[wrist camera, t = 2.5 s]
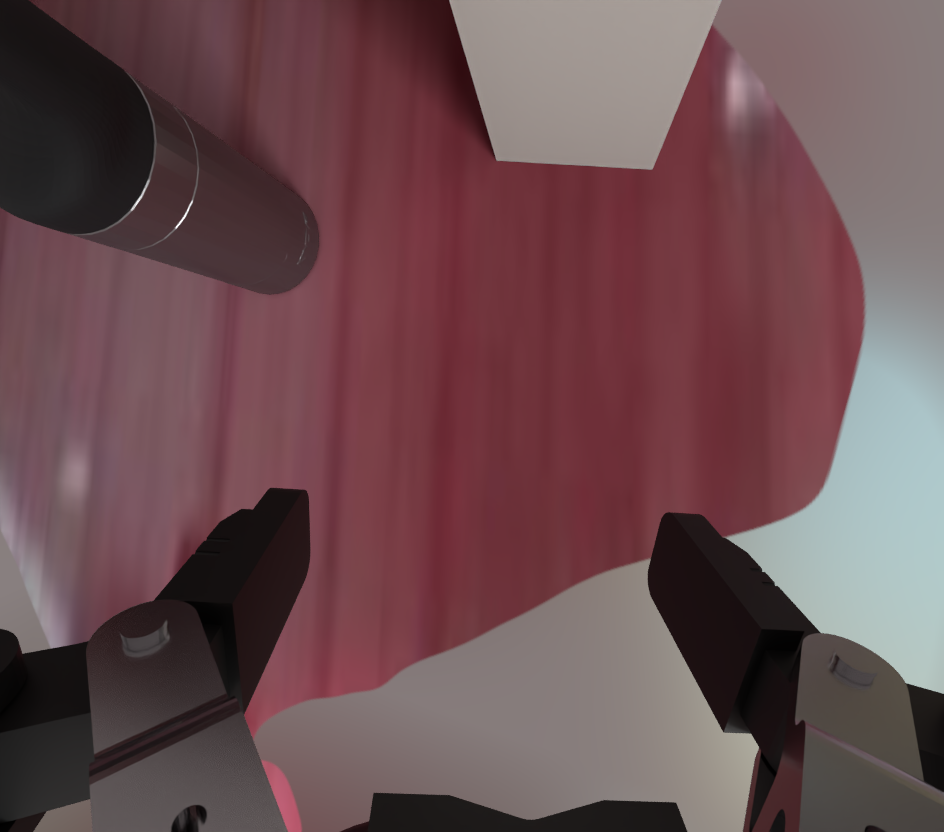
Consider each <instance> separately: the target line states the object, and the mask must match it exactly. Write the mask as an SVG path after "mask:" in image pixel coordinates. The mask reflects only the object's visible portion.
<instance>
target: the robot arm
mask: <svg viewBox="0 0 944 832" xmlns="http://www.w3.org/2000/svg"><path fill="white" fill-rule="evenodd" d="M0 207H1V208H2V209H4V210H5V211H7V212H9V213H11V214H12V215H14V216H16V217H19V218H21V219H24V220H26V221H29V222H32V223H35V224H37V225H41V226H44V227H47V228H51V229H54V230H57V231H60V232H64V233H67V234H70V235H73V236H77V237H80V238H83V239H86V240H90V241H93V242H96V243H99V244H103V245H106V246H109V247H113V248H116V249H120V250H123V251H126V252H129V253H132V254H136V255H139V256H142V257H145V258H149V259H152V260H155V261H158V262H161V263H165V264H168V265H171V266H174V267H178V268H181V269H184V270H187V271H190V272H194V273H197V274H200V275H203V276H207V277H210V278H213V279H216V280H219V281H223V282H225V283H228V284H232V285H235V286H238V287H241V288H245V289H248V290H251V291H254V292H257V293H262V294H269V295H270V294H279V293H282V292H285V291H288V290H290V289H292V288H293V287H295V286H297V285H298V284H299V283H300V282H301V281H302V280H303V279H304V278H305V277H306V276H307V275H308V273H309V272H310V270H311V269H312V267H313V264H314V262H315V260H316V257H317V252H318V247H319V232H318V227H317V222H316V220H315V217H314V215H313V213H312V211H311V210H310V208H309V207H308V205H307V204H306V203H305V202H304V201H303V200H302V199H301V198H300V197H299V196H298V195H296V194H295V193H294V192H292V191H291V190H289V189H288V188H287V187H285V186H284V185H283V184H281V183H280V182H278V181H277V180H276V179H274V178H273V177H272V176H270V175H269V174H268V173H266V172H265V171H263V170H262V169H261V168H259V167H258V166H257V165H255V164H254V163H252V162H251V161H250V160H248V159H247V158H245V157H244V156H243V155H241V154H240V153H239V152H237V151H236V150H234V149H233V148H232V147H230V146H229V145H227V144H226V143H225V142H223V141H222V140H220V139H219V138H218V137H216V136H215V135H214V134H212V133H211V132H209V131H208V130H207V129H205V128H204V127H202V126H201V125H200V124H198V123H197V122H196V121H194V120H193V119H191V118H190V117H189V116H187V115H186V114H184V113H183V112H182V111H180V110H179V109H177V108H176V107H175V106H173V105H172V104H171V103H169V102H168V101H166V100H165V99H163V98H162V97H160V96H159V95H158V94H156V93H155V92H153V91H152V90H151V89H149V88H148V87H147V86H145V85H144V84H142V83H141V82H140V81H138V80H137V79H135V78H134V77H133V76H131V75H130V74H129V73H127V72H126V71H124V70H123V69H122V68H120V67H119V66H118V65H116V64H115V63H114V62H112V61H111V60H109V59H108V58H106V57H105V56H104V55H102V54H101V53H99V52H98V51H97V50H95V49H94V48H92V47H91V46H90V45H88V44H87V43H85V42H84V41H83V40H81V39H80V38H79V37H77V36H76V35H75V34H73V33H72V32H70V31H69V30H68V29H66V28H65V27H64V26H62V25H61V24H60V23H58V22H57V21H56V20H54V19H53V18H51V17H50V16H49V15H47V14H46V13H45V12H43V11H42V10H41V9H39V8H38V7H37V6H35V5H34V4H32V3H31V2H30V1H28V0H0ZM309 562H310V522H309V498H308V493H307V491H306V490H299V489H283V488H270V489H268V490H267V492H266V493H265V494H264V496H263V497H262V498H261V500H260V501H259V502H258V504H257V505H256V506H255V508H254V509H253V510H251V509H241V510H239V511H237V512H236V513H234V514H232V515H231V516H229V517H227V518H226V519H224V520H222V521H221V522H220V523H219V524H218V525H217V526H216V527H215V529H214V530H213V531H212V532H211V533H210V534H209V536H208V537H207V540H206V541H204V542H203V543H202V544H201V545H200V546H199V547H198V549H197V550H196V553H195V554H193V555H192V556H191V557H190V558H189V559H188V561H187V562H186V563H185V564H184V565H183V566H182V568H181V569H180V570H179V571H178V572H177V574H176V575H175V576H174V577H173V578H172V579H171V581H170V582H169V583H168V584H167V585H166V587H165V588H164V589H163V590H162V591H161V593H160V594H159V595H158V596H157V597H156V598H155V600H154V601H150V602H146V603H142V604H139V605H136V606H134V607H131V608H129V609H126V610H124V611H122V612H120V613H118V614H117V615H115V616H113V617H112V618H110V619H109V620H108V621H106V622H105V623H104V624H103V625H101V626H100V627H99V628H98V629H97V630H96V632H95V633H94V634H93V635H92V637H91V638H90V640H89V641H87V642H83V643H79V644H74V645H69V646H63V647H58V648H52V649H47V650H41V651H36V652H31V653H25V654H22V651H21V648H20V645H19V641H18V639H17V637H16V636H15V635H14V634H13V633H11V632H9V631H7V630H3V629H0V832H33V831H34V830H35V828H36V826H37V825H38V823H39V822H40V820H41V819H42V817H43V816H44V814H45V813H46V811H48V810H52V809H55V808H60V807H63V806H66V805H70V804H74V803H77V802H81V801H84V800H88V799H90V800H91V816H92V831H93V832H288V831H287V828H286V826H285V823H284V820H283V818H282V815H281V812H280V810H279V807H278V805H277V802H276V799H275V797H274V794H273V791H272V789H271V786H270V783H269V781H268V778H267V775H266V773H265V770H264V767H263V765H262V762H261V759H260V757H259V755H258V752H257V749H256V746H255V744H254V741H253V738H252V736H251V733H250V730H249V728H248V725H247V722H246V720H245V717H244V714H245V711H246V709H247V707H248V705H249V703H250V700H251V698H252V696H253V694H254V692H255V689H256V687H257V685H258V683H259V680H260V678H261V676H262V674H263V672H264V669H265V667H266V665H267V663H268V661H269V658H270V656H271V654H272V652H273V650H274V647H275V645H276V643H277V641H278V638H279V636H280V634H281V632H282V630H283V627H284V625H285V623H286V621H287V619H288V616H289V614H290V612H291V610H292V608H293V605H294V603H295V601H296V599H297V596H298V594H299V592H300V590H301V588H302V585H303V583H304V581H305V578H306V575H307V572H308V568H309ZM648 587H649V591H650V595H651V597H652V599H653V601H654V603H655V605H656V607H657V609H658V611H659V613H660V614H661V616H662V618H663V620H664V622H665V624H666V626H667V628H668V629H669V631H670V633H671V635H672V636H673V639H674V641H675V642H676V644H677V646H678V648H679V650H680V652H681V654H682V656H683V657H684V659H685V661H686V663H687V665H688V667H689V669H690V671H691V672H692V674H693V676H694V678H695V680H696V682H697V684H698V686H699V687H700V689H701V691H702V693H703V695H704V697H705V699H706V700H707V702H708V704H709V706H710V708H711V710H712V712H713V714H714V715H715V717H716V719H717V721H718V723H719V725H720V727H721V729H722V730H723V732H725V733H751V734H752V736H753V737H754V739H755V741H756V743H757V744H758V746H759V750H758V752H757V754H756V757H755V761H754V767H753V773H752V779H751V785H750V792H749V798H748V803H747V809H746V815H745V821H744V827H743V832H944V694H942V693H938V692H935V691H931V690H928V689H924V688H921V687H917V686H914V685H910V684H906V683H905V681H904V680H903V678H902V677H901V676H900V674H899V673H898V672H897V671H896V670H895V669H894V668H893V667H892V666H891V665H890V664H889V663H887V662H886V661H885V660H884V659H882V658H881V657H880V656H878V655H877V654H875V653H874V652H872V651H871V650H869V649H867V648H865V647H864V646H862V645H860V644H858V643H855V642H853V641H851V640H848V639H845V638H843V637H839V636H836V635H831V634H824V633H820V632H819V631H818V629H817V628H816V627H815V626H814V625H813V624H812V623H811V622H810V621H809V620H808V619H807V618H806V616H805V615H804V614H803V613H802V612H801V611H800V610H799V609H798V608H797V607H796V605H795V604H794V603H793V602H792V601H791V600H790V599H789V598H788V597H787V596H786V595H785V594H784V592H783V591H782V590H781V589H780V588H779V587H778V586H775V584H774V581H773V580H772V579H771V578H770V577H769V576H768V575H767V574H766V573H765V572H762V568H761V567H760V566H759V565H758V564H757V563H756V562H755V561H754V560H753V558H751V556H750V555H749V554H748V553H747V552H746V551H744V550H743V549H741V548H740V547H738V546H737V545H735V544H734V543H732V542H731V541H729V540H728V539H726V538H722V537H721V535H720V534H719V533H718V532H717V531H716V530H715V529H714V527H713V526H712V525H711V524H710V523H709V522H708V521H707V519H706V518H705V517H704V516H702V515H700V514H686V513H670V512H668V513H665V514H664V515H663V517H662V519H661V522H660V525H659V529H658V533H657V537H656V541H655V545H654V549H653V553H652V557H651V561H650V565H649V569H648ZM341 832H687V830H686V827H685V824H684V822H683V819H682V817H681V814H680V811H679V809H678V806H677V804H676V803H672V802H641V801H609V800H604V801H600V802H596V803H592V804H590V805H586V806H582V807H579V808H575V809H571V810H568V811H565V812H561V813H558V814H554V815H550V816H547V817H544V818H540V819H536V820H526V819H522V818H518V817H515V816H512V815H509V814H506V813H503V812H500V811H497V810H494V809H491V808H488V807H484V806H481V805H478V804H475V803H472V802H469V801H466V800H463V799H459V798H456V797H453V796H450V795H423V794H393V793H391V794H390V793H374V794H373V801H372V807H371V814H370V820H369V822H366V823H362V824H359V825H356V826H353V827H350V828H348V829H345V830H343V831H341Z"/></svg>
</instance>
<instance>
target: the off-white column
mask: <svg viewBox="0 0 944 832" xmlns="http://www.w3.org/2000/svg"><path fill="white" fill-rule="evenodd" d="M449 1H450V5H451V8H452V12H453V15H454V18H455V22H456V25H457V29H458V32H459V35H460V39H461V42H462V46H463V49H464V52H465V56H466V59H467V62H468V66H469V69H470V73H471V76H472V79H473V83H474V86H475V90H476V93H477V96H478V100H479V103H480V106H481V110H482V113H483V117H484V120H485V123H486V127H487V130H488V134H489V137H490V140H491V144H492V147H493V150H494V154H495V157H496V161H513V162H530V163H547V164H565V165H582V166H599V167H617V168H634V169H651V170H652V169H653V167H654V164H655V162H656V160H657V157H658V155H659V152H660V150H661V147H662V145H663V142H664V140H665V138H666V135H667V133H668V130H669V128H670V125H671V123H672V120H673V118H674V115H675V113H676V111H677V108H678V106H679V103H680V101H681V98H682V96H683V93H684V91H685V89H686V86H687V84H688V81H689V79H690V76H691V74H692V71H693V69H694V67H695V64H696V62H697V59H698V57H699V54H700V52H701V49H702V47H703V45H704V42H705V40H706V37H707V35H708V32H709V30H710V27H711V25H712V23H713V20H714V17H715V15H716V13H717V10H718V8H719V5H720V3H721V1H722V0H449Z"/></svg>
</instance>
